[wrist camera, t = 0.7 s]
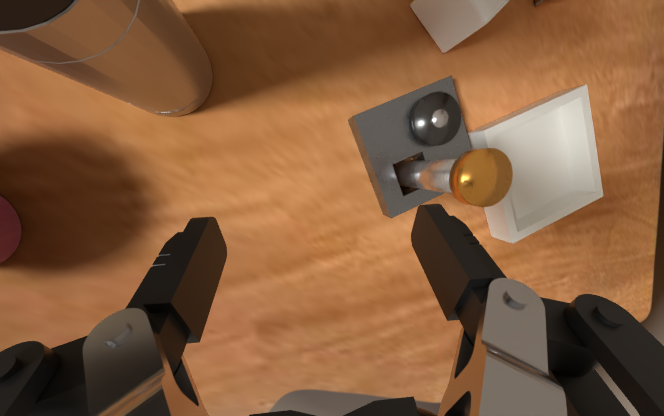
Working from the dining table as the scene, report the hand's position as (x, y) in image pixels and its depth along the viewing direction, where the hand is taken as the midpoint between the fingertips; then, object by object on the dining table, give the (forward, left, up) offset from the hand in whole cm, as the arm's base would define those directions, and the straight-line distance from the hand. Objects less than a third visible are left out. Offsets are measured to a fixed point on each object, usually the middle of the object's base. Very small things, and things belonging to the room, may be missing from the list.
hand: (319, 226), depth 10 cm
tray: (+11, +32, -21) cm, 40 cm away
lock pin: (+4, +14, -21) cm, 26 cm away
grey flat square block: (+2, +16, -21) cm, 26 cm away
